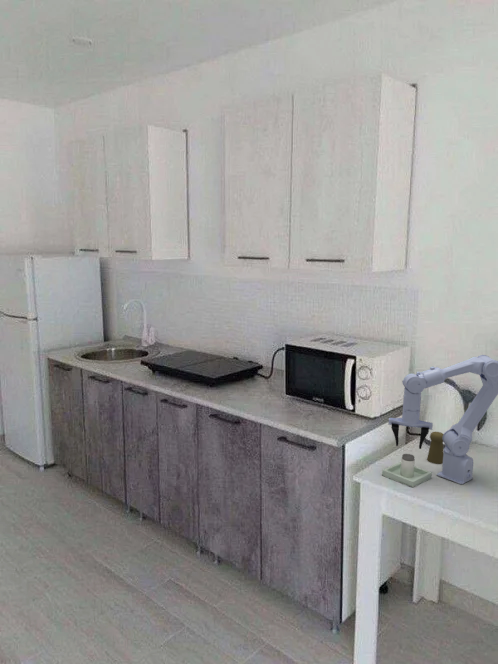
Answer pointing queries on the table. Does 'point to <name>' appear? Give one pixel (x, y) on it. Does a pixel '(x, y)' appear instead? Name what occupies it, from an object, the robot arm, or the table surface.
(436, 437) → the cork
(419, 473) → the tray
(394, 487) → the table surface
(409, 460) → the salt shaker
